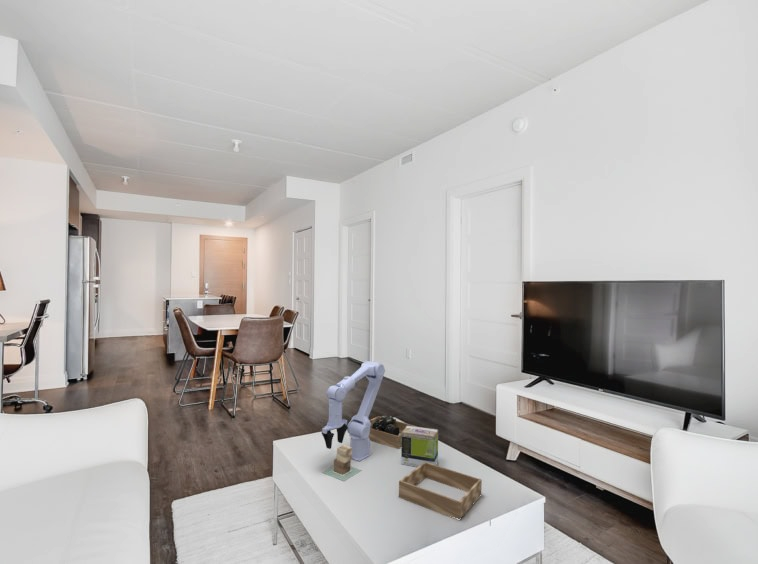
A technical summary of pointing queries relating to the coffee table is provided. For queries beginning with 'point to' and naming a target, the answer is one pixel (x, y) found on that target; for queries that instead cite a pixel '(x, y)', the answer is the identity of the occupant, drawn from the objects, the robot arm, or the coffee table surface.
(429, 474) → the box
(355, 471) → the build mat
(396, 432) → the film camera
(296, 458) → the coffee table surface
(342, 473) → the walnut block
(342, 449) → the maple block
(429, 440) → the tea box
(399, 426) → the camera crate
